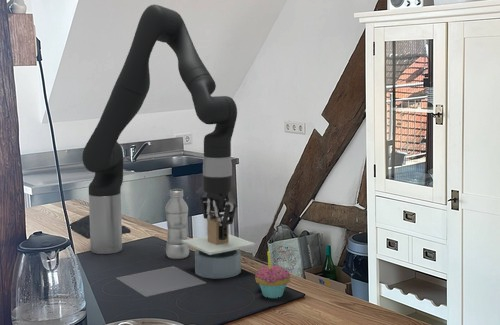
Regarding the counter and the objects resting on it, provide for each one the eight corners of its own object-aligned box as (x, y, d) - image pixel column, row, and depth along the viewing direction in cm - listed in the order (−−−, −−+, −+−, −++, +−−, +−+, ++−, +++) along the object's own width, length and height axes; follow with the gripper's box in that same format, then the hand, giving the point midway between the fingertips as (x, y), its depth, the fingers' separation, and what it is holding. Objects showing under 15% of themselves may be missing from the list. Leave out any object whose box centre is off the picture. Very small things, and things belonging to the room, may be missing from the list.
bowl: (186, 272, 174) (186, 250, 174) (224, 264, 181) (224, 243, 181) (210, 284, 165) (210, 261, 164) (249, 275, 172) (249, 253, 171)
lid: (181, 242, 174) (181, 218, 173) (225, 234, 182) (225, 211, 181) (209, 254, 162) (209, 229, 161) (255, 245, 170) (255, 221, 169)
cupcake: (278, 303, 152) (279, 253, 150) (247, 296, 156) (248, 248, 154) (296, 292, 159) (296, 245, 157) (266, 286, 163) (266, 240, 161)
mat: (115, 280, 167) (115, 277, 167) (173, 268, 177) (173, 266, 177) (145, 299, 154) (145, 296, 154) (206, 285, 164) (206, 282, 163)
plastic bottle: (185, 262, 183) (184, 192, 180) (162, 261, 184) (161, 191, 181) (192, 256, 189) (191, 188, 186) (169, 255, 190) (168, 187, 187)
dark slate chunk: (105, 221, 233) (105, 208, 232) (133, 234, 215) (133, 220, 215) (63, 227, 224) (63, 214, 223) (89, 241, 206) (89, 227, 205)
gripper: (245, 175, 166) (245, 241, 168) (214, 168, 177) (215, 230, 180) (220, 178, 161) (220, 246, 164) (190, 171, 173) (191, 234, 175)
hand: (217, 237), depth 172 cm, fingers closed on lid, 4 cm apart
